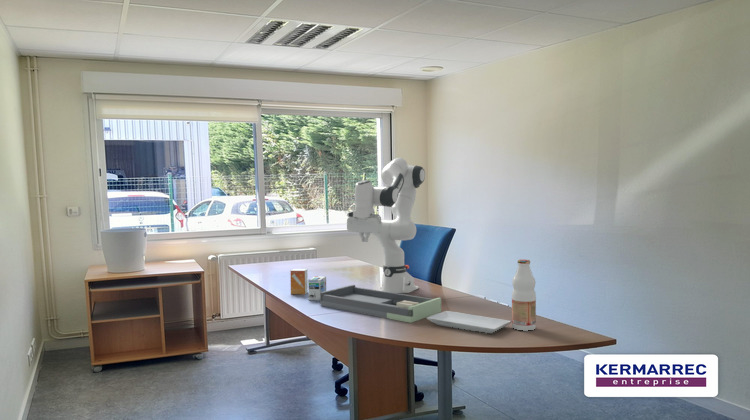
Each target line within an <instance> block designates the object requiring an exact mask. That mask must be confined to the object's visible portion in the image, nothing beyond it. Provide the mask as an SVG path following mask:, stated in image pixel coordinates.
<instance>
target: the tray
mask: <svg viewBox="0 0 750 420" xmlns="http://www.w3.org/2000/svg"><path fill="white" fill-rule="evenodd" d="M426 319H427V320H428V321H430V322H431V323H434V324H435V325H436V326H442V327H446V328H447V327H448V328H452V327H453V328H452V329H458V328H459V329H460V330H464V329H465V330H466V331H469V330H471V331H470V332H475V331H479V332H478V333H481V332H485V333H484V334H487V333H492V334H494V333H496V332H498V331H500V330H501V328H502V329H503V328H505V327H507V326H508V325H509V324H512V320H509V319H502V318H496V317H489V316H483V315H475V314H469V313H463V312H458V311H451V310H444V311H441V312H440V313H437V314H434V315H431V316H428V317H426ZM499 329H500V330H499ZM497 330H498V331H497ZM495 331H496V332H495ZM493 332H494V333H493Z"/></svg>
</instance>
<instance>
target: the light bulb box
mask: <svg viewBox="0 0 750 420" xmlns="http://www.w3.org/2000/svg"><path fill="white" fill-rule="evenodd" d="M324 291H327V276H323V275H322V276H320V275H319V276H318V275H317V276H316V275H314V276H312V277H310V278H308V301H320V302H321V300H320V292H324Z"/></svg>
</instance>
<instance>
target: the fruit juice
mask: <svg viewBox="0 0 750 420" xmlns="http://www.w3.org/2000/svg"><path fill="white" fill-rule="evenodd" d="M517 265H518V266H517V269H516V272H515V274H514V276H513V278H512V279H511V280H512V281H511V284H512V288H513V289H512V293H511V328H512V329H513V328H514V329H513V330H515V329H517V330H516V331H518V330H523V331H522V332H529V331H528V330H533V331H535V330H536V327H537V326H536V325H537V324H536V323H537V319H536V318H537V316H536V315H537V304H536V303H537V297H536V296H537V294H536V291H535V287H536V278H535V277H534V275H533V272H532V271H531V270H532V269H531V260H530V259H518V260H517ZM534 329H535V330H534Z"/></svg>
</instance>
